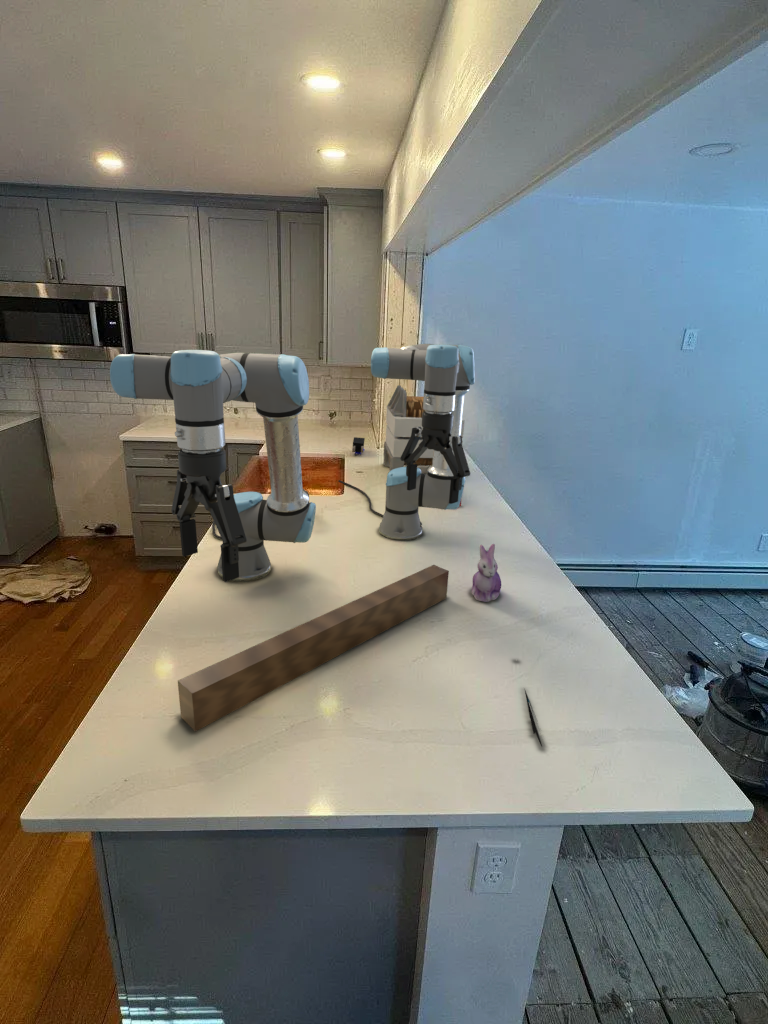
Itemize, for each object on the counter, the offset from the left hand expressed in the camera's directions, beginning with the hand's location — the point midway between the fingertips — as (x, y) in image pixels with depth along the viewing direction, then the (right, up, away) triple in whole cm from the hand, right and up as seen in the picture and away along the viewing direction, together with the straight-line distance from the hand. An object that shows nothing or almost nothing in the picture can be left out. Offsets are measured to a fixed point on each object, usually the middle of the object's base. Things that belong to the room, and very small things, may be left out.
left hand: (209, 566), depth 100 cm
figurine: (+59, -14, +59) cm, 85 cm away
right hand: (+43, +14, +43) cm, 62 cm away
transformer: (+48, +28, +175) cm, 184 cm away
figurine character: (+17, +41, +206) cm, 211 cm away
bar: (+20, -22, +32) cm, 44 cm away
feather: (+60, -29, +17) cm, 69 cm away
